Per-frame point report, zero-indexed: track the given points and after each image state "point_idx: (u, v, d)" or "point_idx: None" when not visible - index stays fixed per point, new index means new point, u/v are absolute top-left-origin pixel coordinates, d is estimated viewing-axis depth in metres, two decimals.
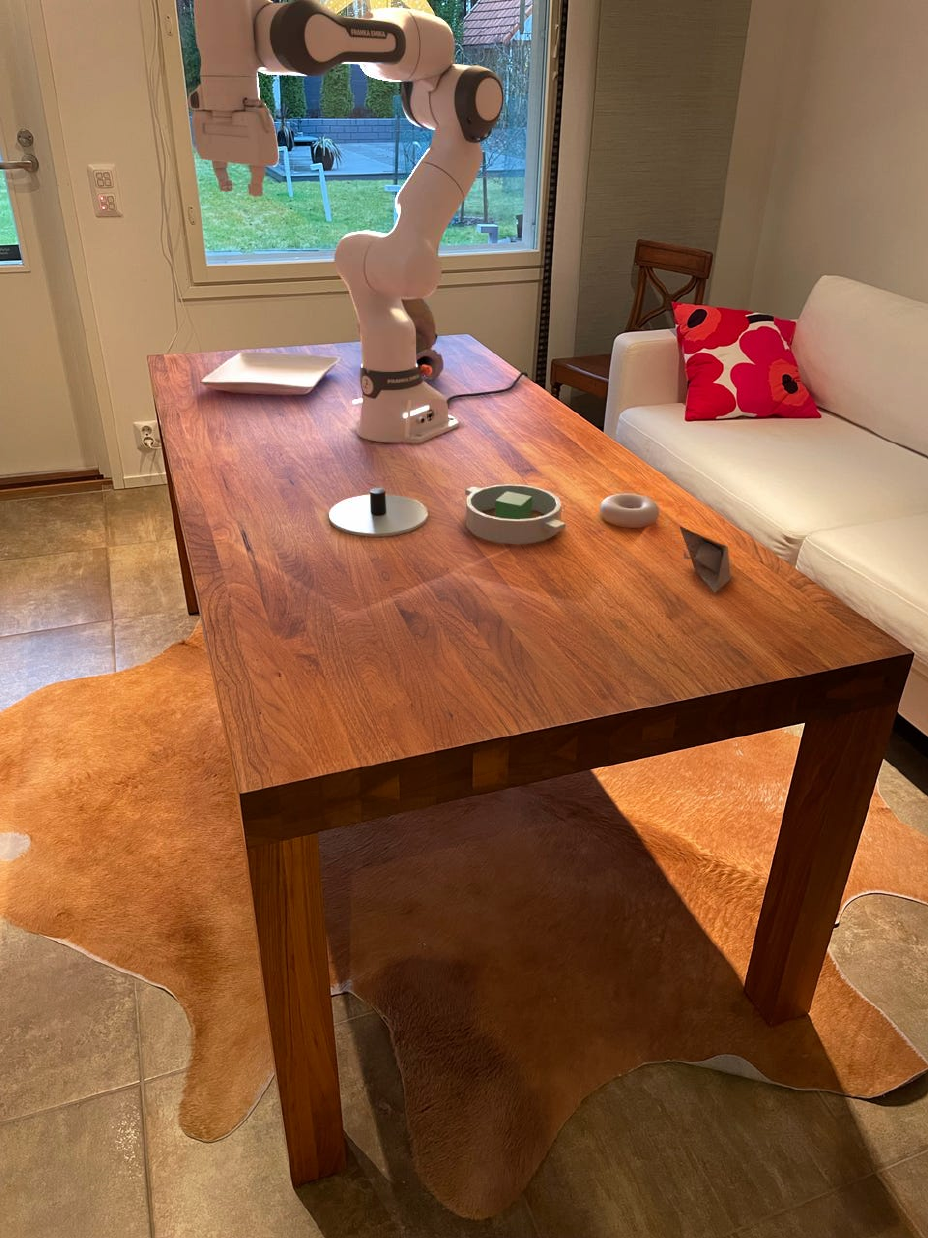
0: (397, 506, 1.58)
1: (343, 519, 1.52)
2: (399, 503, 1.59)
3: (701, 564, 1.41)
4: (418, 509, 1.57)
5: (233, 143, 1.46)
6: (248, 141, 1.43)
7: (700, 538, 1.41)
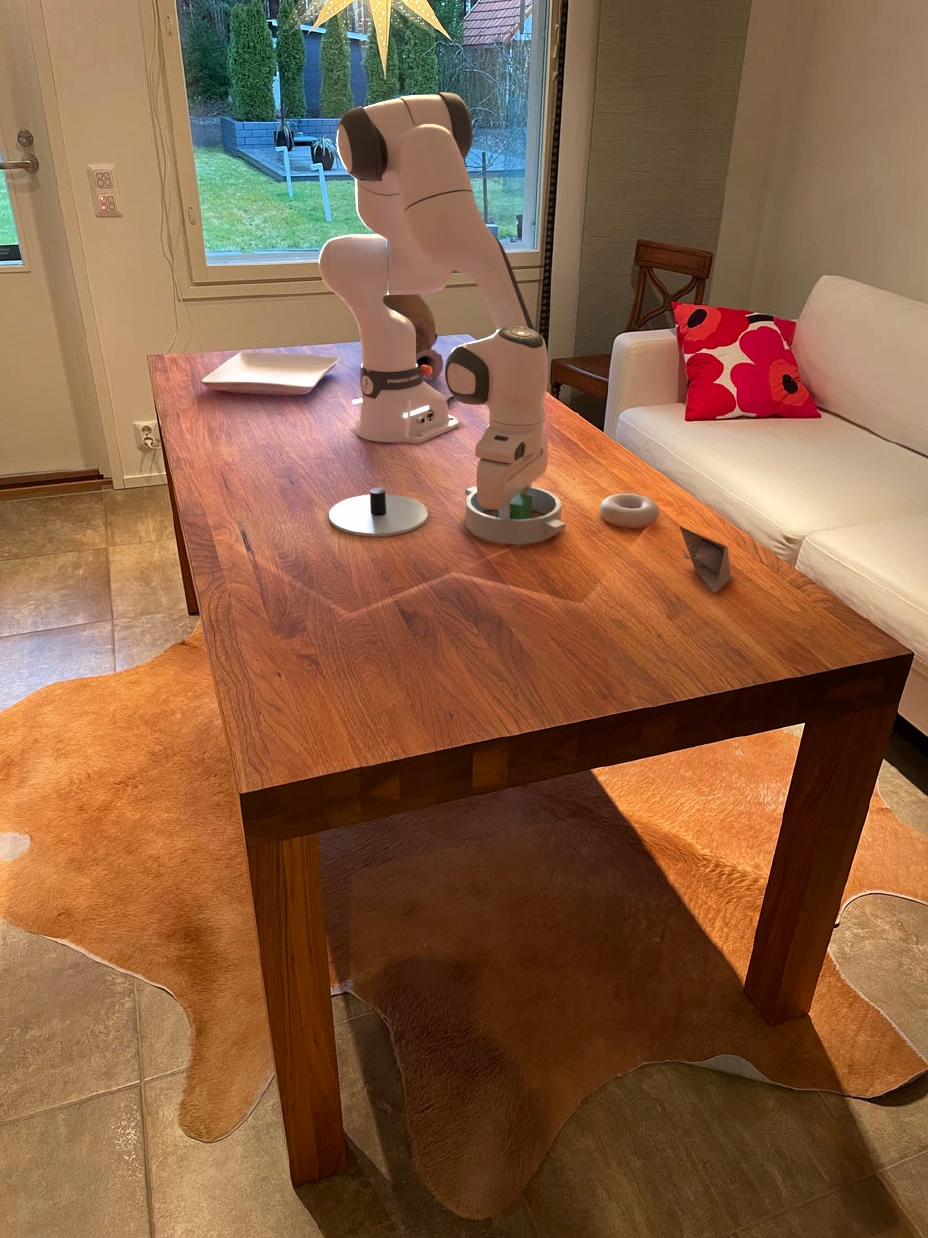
0: (397, 506, 1.58)
1: (343, 519, 1.52)
2: (399, 503, 1.59)
3: (701, 564, 1.41)
4: (418, 509, 1.57)
5: (530, 469, 1.50)
6: (541, 458, 1.53)
7: (700, 538, 1.41)
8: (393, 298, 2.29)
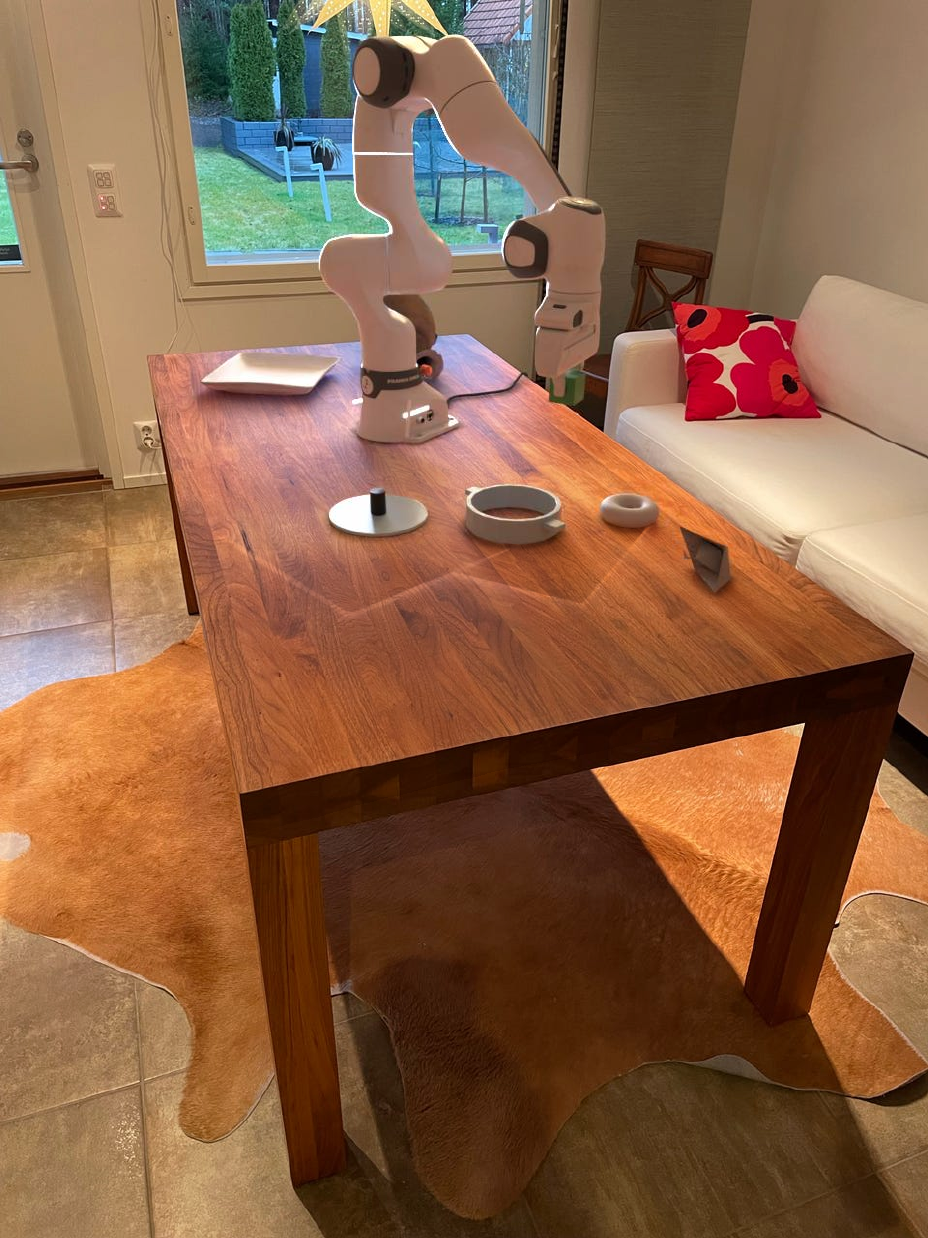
0: (397, 506, 1.58)
1: (343, 519, 1.52)
2: (399, 503, 1.59)
3: (701, 564, 1.41)
4: (418, 509, 1.57)
5: (584, 345, 1.54)
6: (594, 336, 1.58)
7: (700, 538, 1.41)
8: (393, 298, 2.29)
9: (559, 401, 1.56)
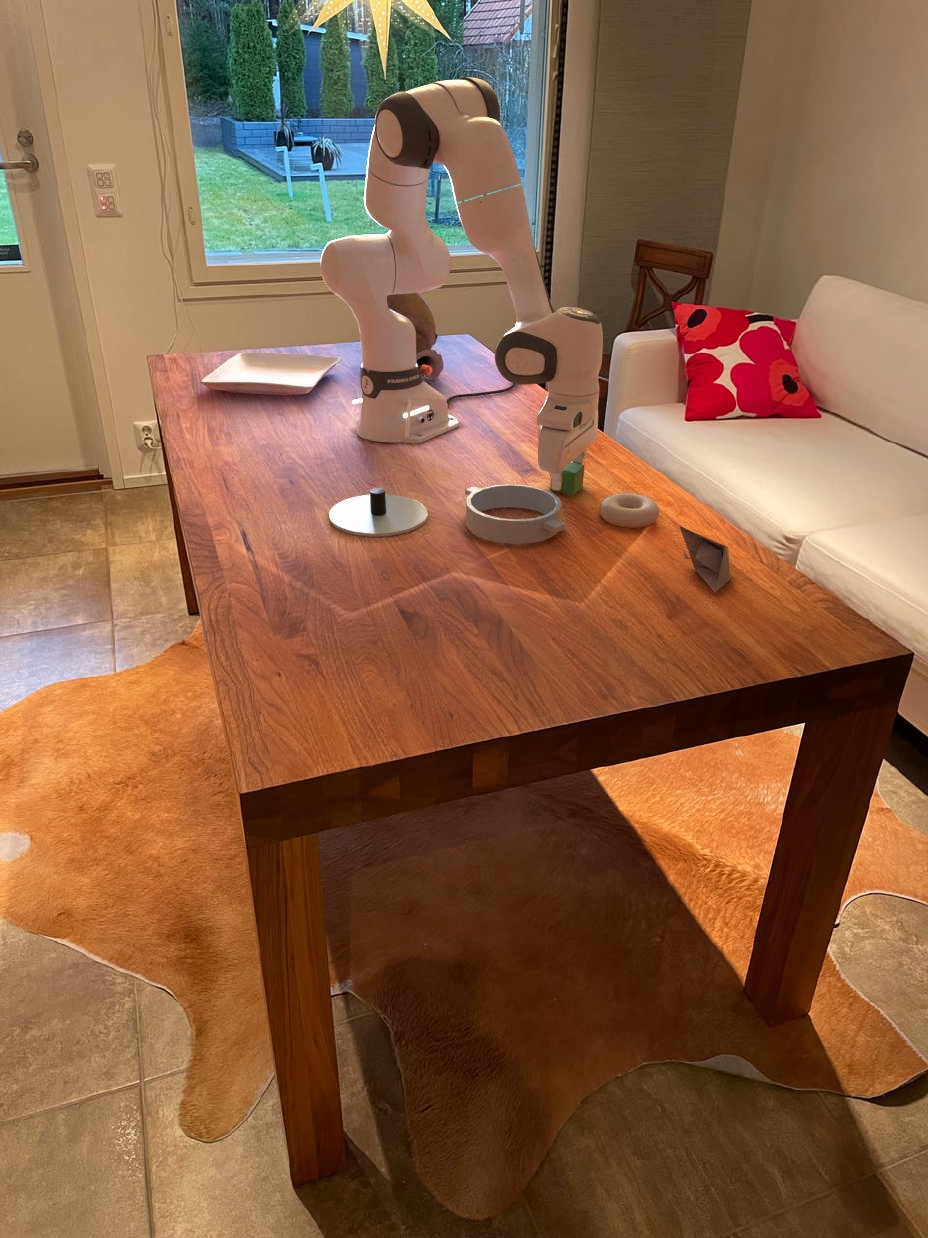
0: (397, 506, 1.58)
1: (343, 519, 1.52)
2: (399, 503, 1.59)
3: (701, 564, 1.41)
4: (418, 509, 1.57)
5: (583, 438, 1.65)
6: (593, 428, 1.68)
7: (700, 538, 1.41)
8: (393, 298, 2.29)
9: (560, 491, 1.66)
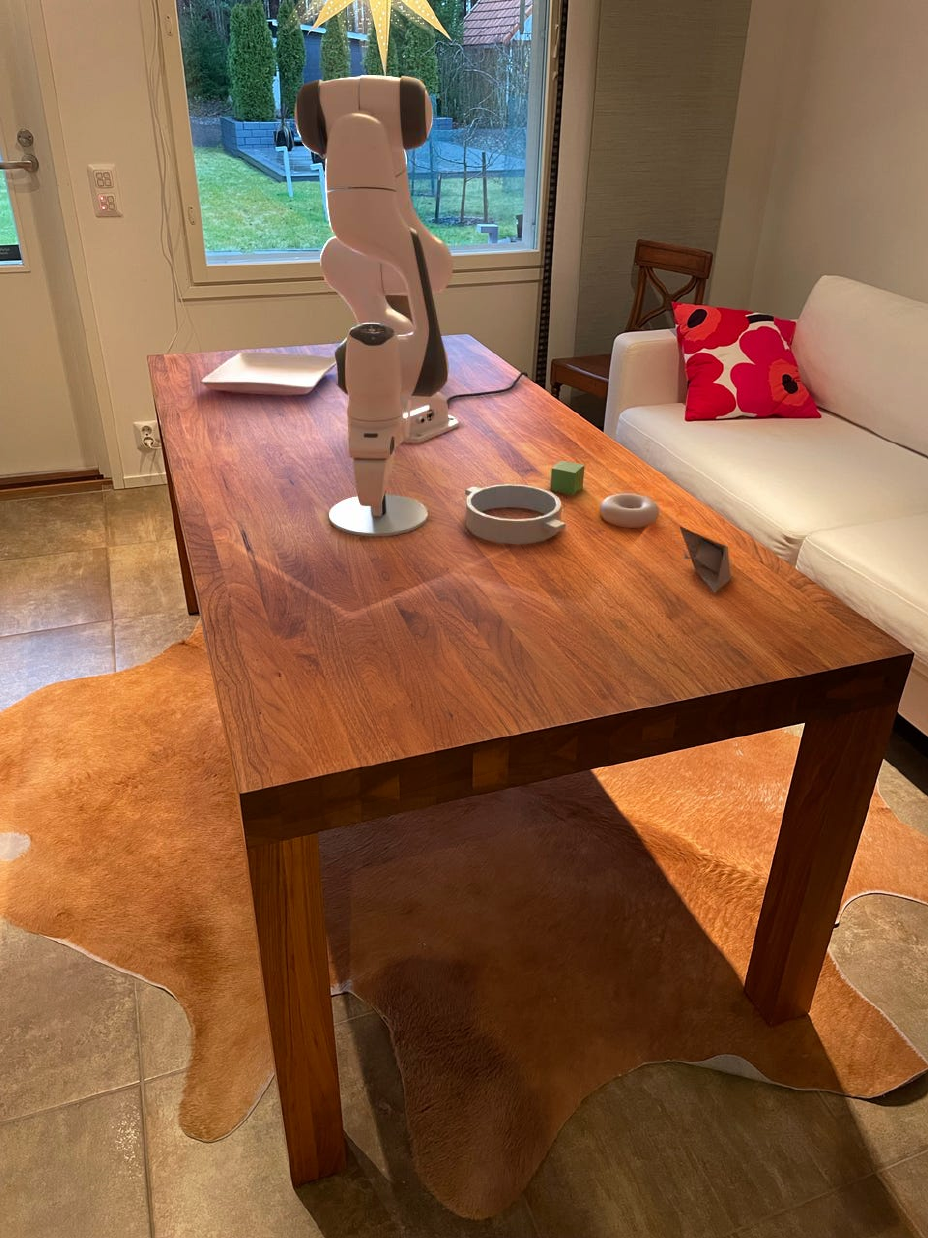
0: (397, 506, 1.58)
1: (343, 519, 1.52)
2: (400, 502, 1.59)
3: (701, 564, 1.41)
4: (418, 509, 1.57)
5: (389, 463, 1.53)
6: None
7: (700, 538, 1.41)
8: (393, 298, 2.29)
9: (560, 491, 1.66)
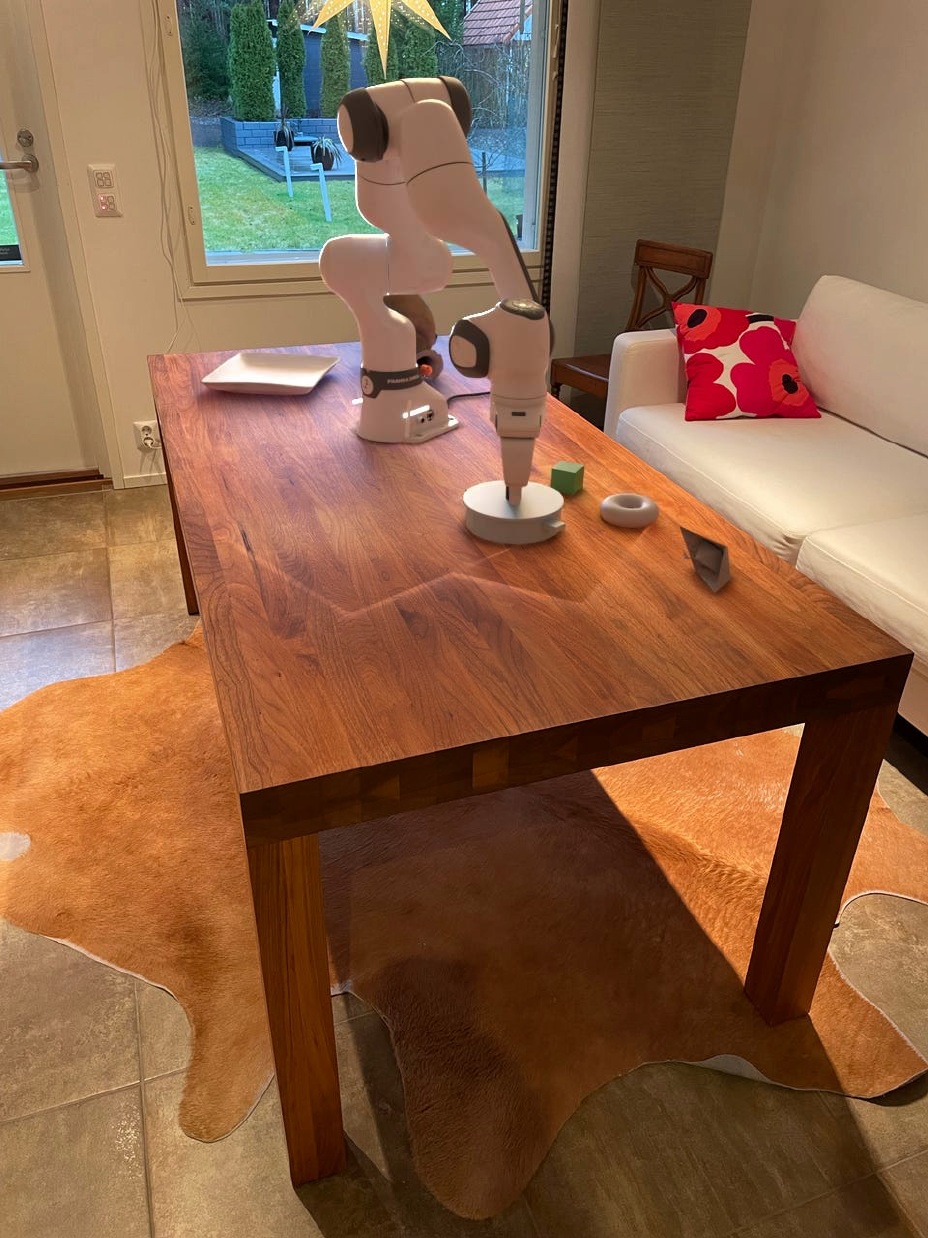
0: (530, 491, 1.54)
1: (479, 505, 1.49)
2: (532, 488, 1.55)
3: (701, 564, 1.41)
4: (552, 495, 1.53)
5: None
6: None
7: (700, 538, 1.41)
8: (393, 298, 2.29)
9: (560, 491, 1.66)
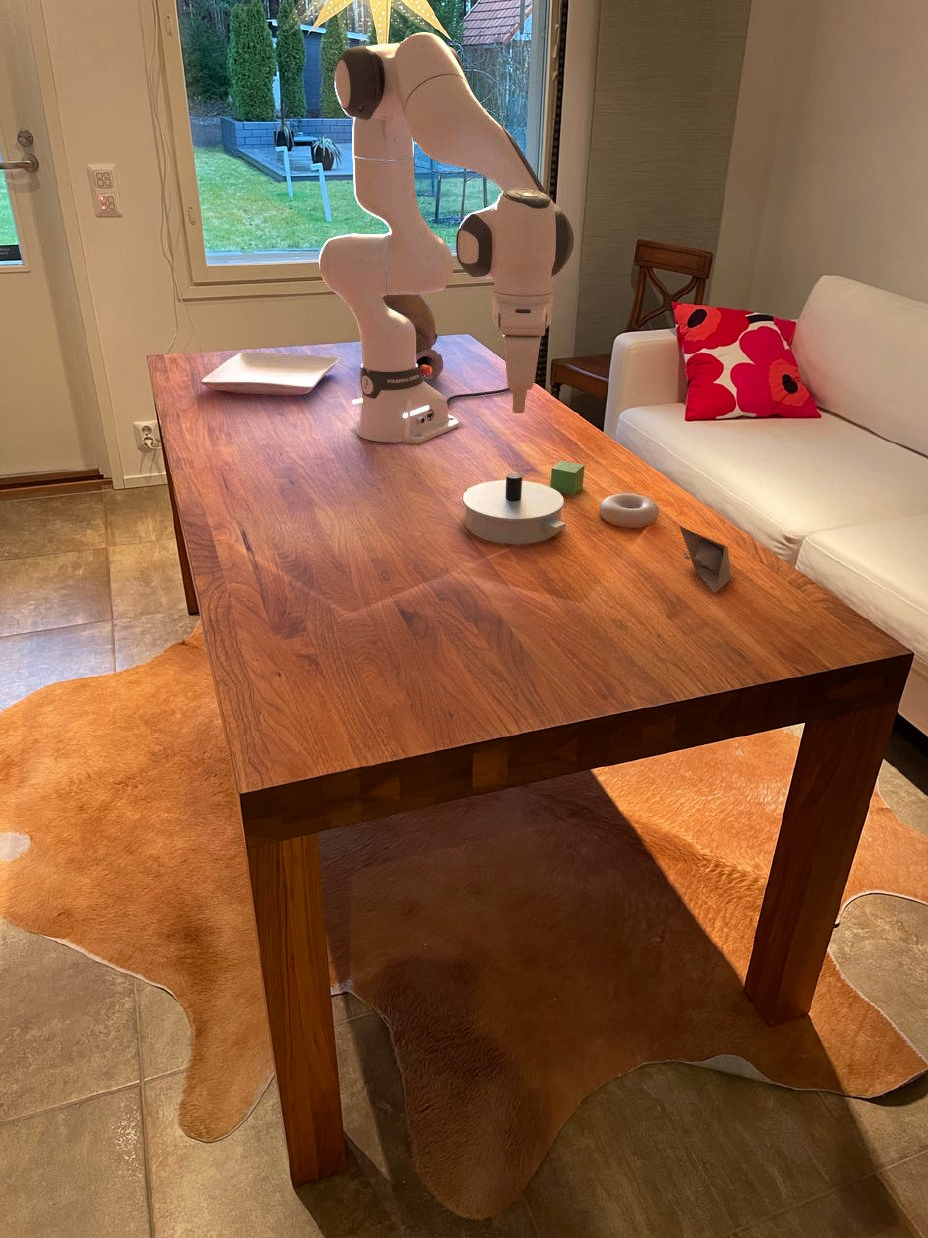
0: (530, 491, 1.54)
1: (479, 505, 1.49)
2: (532, 488, 1.55)
3: (701, 564, 1.41)
4: (552, 495, 1.53)
5: None
6: None
7: (700, 538, 1.41)
8: (393, 298, 2.29)
9: (560, 491, 1.66)
